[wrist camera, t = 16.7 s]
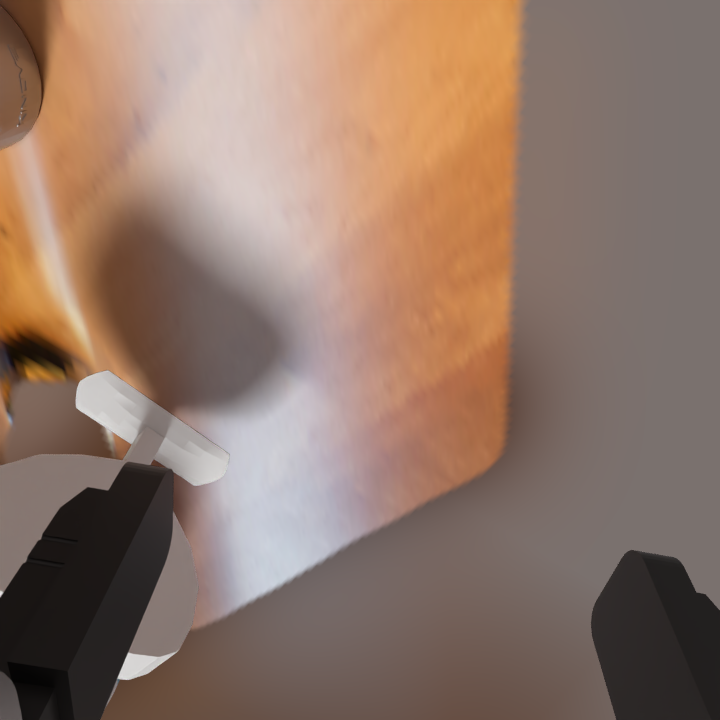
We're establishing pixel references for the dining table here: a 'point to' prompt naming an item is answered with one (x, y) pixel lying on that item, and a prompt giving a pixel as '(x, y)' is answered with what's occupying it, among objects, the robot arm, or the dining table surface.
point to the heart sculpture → (77, 472)
